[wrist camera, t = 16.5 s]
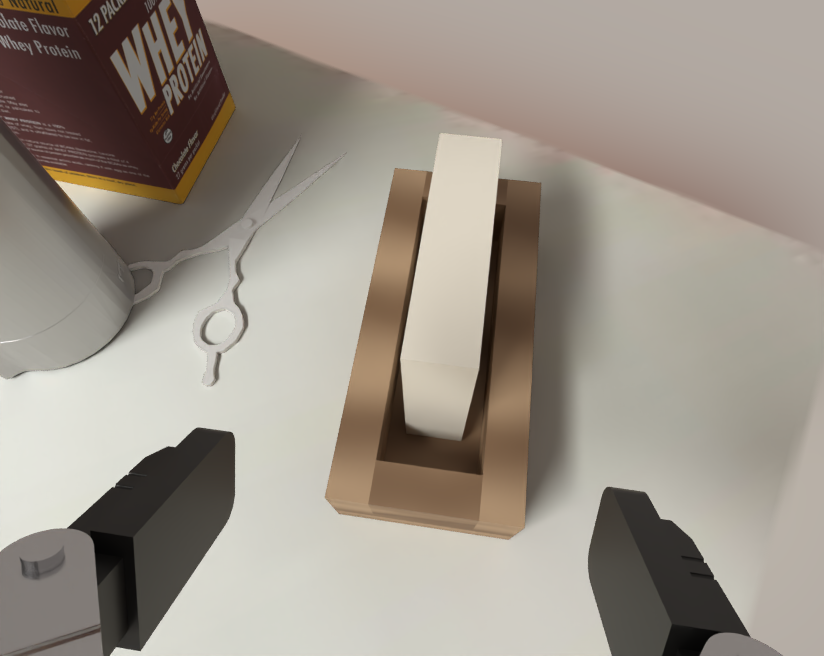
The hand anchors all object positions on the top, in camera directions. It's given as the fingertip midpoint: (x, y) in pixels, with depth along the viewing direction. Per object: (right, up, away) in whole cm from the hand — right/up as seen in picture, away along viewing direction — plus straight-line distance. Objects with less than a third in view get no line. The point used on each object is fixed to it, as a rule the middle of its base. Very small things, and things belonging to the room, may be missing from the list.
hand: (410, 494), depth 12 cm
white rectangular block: (+2, +3, +20) cm, 21 cm away
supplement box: (-22, +18, +30) cm, 42 cm away
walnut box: (+2, +2, +21) cm, 21 cm away
